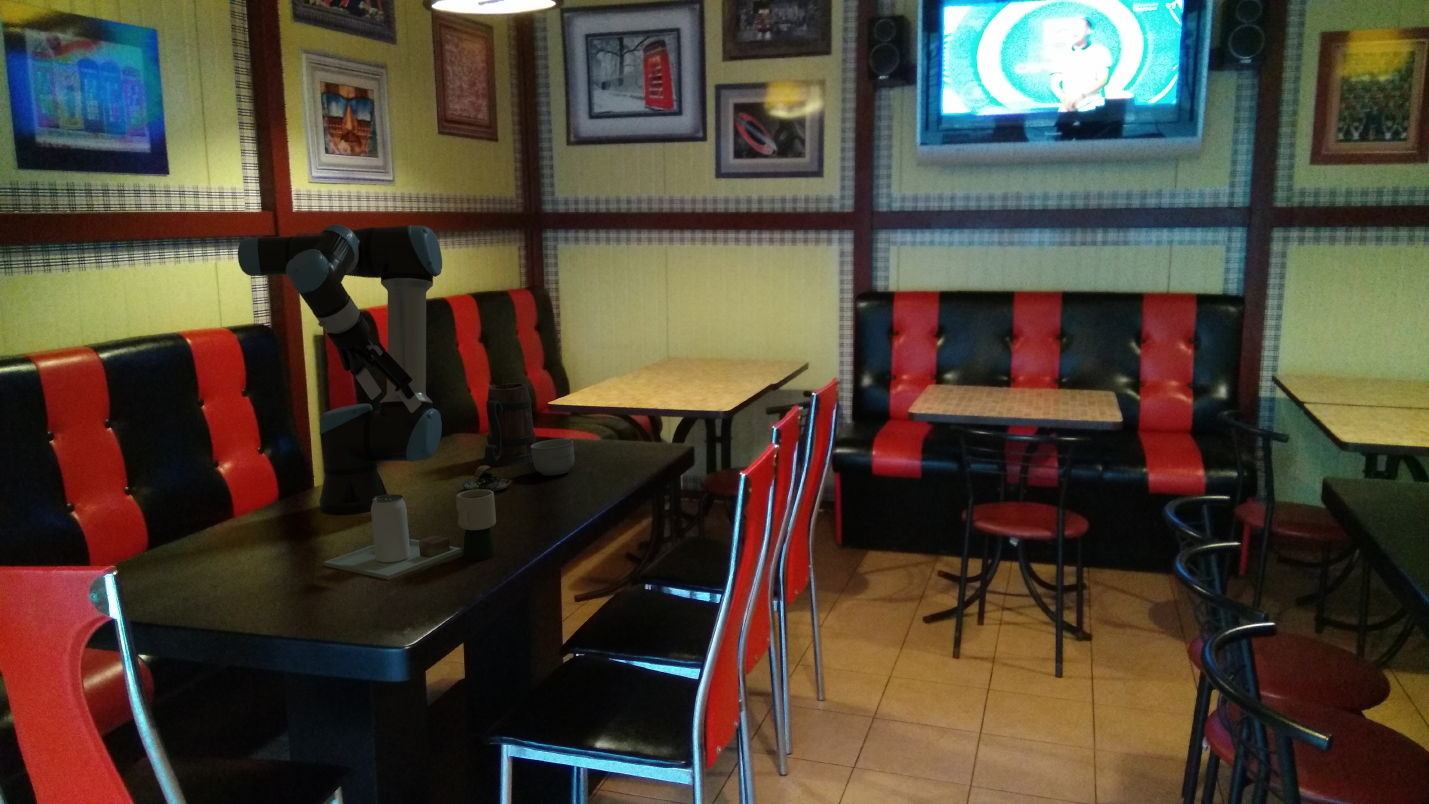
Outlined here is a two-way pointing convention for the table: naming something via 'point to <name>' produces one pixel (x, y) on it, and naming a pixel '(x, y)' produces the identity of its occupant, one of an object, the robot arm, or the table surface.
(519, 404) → the tankard
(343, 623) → the table surface
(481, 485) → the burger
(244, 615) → the table surface
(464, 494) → the character mug
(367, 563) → the tray
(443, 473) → the table surface
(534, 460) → the teacup
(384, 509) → the can
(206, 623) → the table surface
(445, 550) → the walnut block
